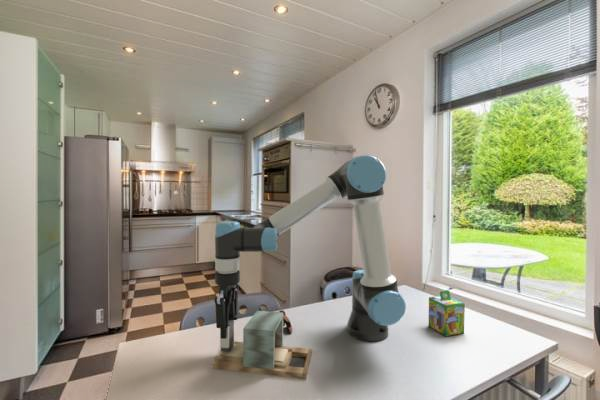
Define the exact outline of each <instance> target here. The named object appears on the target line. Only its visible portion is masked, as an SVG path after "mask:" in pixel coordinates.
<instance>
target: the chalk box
mask: <svg viewBox="0 0 600 400" xmlns="http://www.w3.org/2000/svg"><path fill="white" fill-rule="evenodd" d="M444 294H446V295H444ZM465 305H466V304H465V303H464V302H462V301H460V300H458V299H456V298H453V297H451V293H450V290H440V291H439V295H438V296H430V297H428V325H427V326H428V327H430V328H431V329H433V330H434V331H437V332H438V333H440V334H442V335H443V336H445V337H448V336H453V335H461V334H465V312H466V311H465Z"/></svg>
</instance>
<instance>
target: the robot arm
mask: <svg viewBox="0 0 600 400" xmlns="http://www.w3.org/2000/svg"><path fill="white" fill-rule="evenodd" d="M386 179H387V169H386V167H385V165H384V164H383V162H382V161H381V160H380V159H379V158H377V157H375V156H373V155H368V154H364V155H358V156H355V157H353V158H352V159H350V160H348V161H346V162H344V163H343V164H342V165H341V166H340V167H339V168H338V169H337V170H335V171H334V172H333V173H332V174H330V175H328V176H327V177H326V179H325V181H324V182H322V183H321V184H318V186H316V187H315V188H313V189H311V190H310V191H308V192H306V193H305V194H303V195H302V196H300V197H298V198H297V199H296V200H294V201H292V202H291V203H290V204H288V205H286V206H285V207H282V209H280V210H278V211H277V212H275V213H273V214H272V215H271V216H269V217H267V218H266V219H263V221H261V222H259V223H256V224H255V225H254V226H253V227H241V225H240V222H239V221H236V220H235V221H231V220H227V221H226V220H225V221H219V222H216V224H215V233H214V234H215V235H214V242H215V243H214V244H215V245H214V246H215V247H214V249H215V251H214V252H215V253H214V255H215V258H214V263H215V265H214V270H215V273H214V277H215V278H214V280H215V281H214V282H215V284H216V285H218V287H219V291H218V297H217V296H216V297H215V298H214V300H213V301H214V305H215V319H216V320H215V323H216V324H215V325H216V327H215V328H217V329H219V331H220V332H219V333H220V334H219V335H220V337H219V346H220V349H221V348H229V326H228V320H234V321H237V320H238V317H237V316H238V302H239V299H238V298H239V297H238V296H239V288H240V285H239V283H240V280H241V279H240V275H241V274H240V273H241V271H240V268H241V261H240V260H241V255H240V253H241V252H243V253H245V252H247V253H248V252H249V253H250V252H251V253H252V252H255V253H256V252H258V253H259V252H260V253H261V252H262V253H268V252H275V251H277V249H278V237H279V236H280V235H281V234H283V233H284V232H287V231H288V230H290V229H291V228H292V227H294V226H295V225H298V224H299V223H300V222H301V223H302V221H303V220H305V219H307V218H309V217H310V216H312V215H313V214H315V213H317V212H318V211H319V210H321V209H322V208H324V207H326V206H328V205H329V204H330V203H332V202H334V201H335V200H337V199H338V200H342V199H344V198H345V197H347V201H348V202H350V203H351V205H352V207H353V212H354V217H355V219H354V220H355V224H356V233H357V237H358V245H359V250H360V251H359V252H360V257H361V263H362V264H361V266H362V269H358V270H355V271H353V273H352V279H351V282H352V286H351V289H352V290H351V292H352V294H351V296H352V297H351V298H352V299H351V303H352V304H351V305H352V306H351V308H352V309H351V311H350V315H349V318H348V321H347V322H346V323H347V327H346V328H347V329H346V330H347V333H348V334H349V335H350V336H352V337H353V338H356V339H358V340H362V341H366V342H380V341H382V340H383V341H384V340H386V339H387V338H388V336H389V326H393V325H395V324H397V323H398V322H400V321H401V319H402V318H403V317H404V315H405V312H406V309H407V306H406V305H407V304H406V301H405V299H404V296H402V294H401V293H400V292H399V287H398V280H397V277H396V276H395V275H394V274H393V273H391V267H390V266H391V265H390V258H389V253H388V247H387V238H386V232H385V224H384V221H383V220H384V219H383V212H382V205H381V201H382V199H383V197H384V196H385V192H384V185H385V182H386Z"/></svg>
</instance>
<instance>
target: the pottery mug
mask: <svg viewBox="0 0 600 400" xmlns="http://www.w3.org/2000/svg"><path fill="white" fill-rule="evenodd" d="M278 312H280V313H283V327H285V326H286V329H288V331H289V334H290V335H292V334H293V327H292V324H291V320H290V319H289V317H288V316H287V315H286V312H285V310H284V309H283V310H282V309H280V310H279V311H278Z"/></svg>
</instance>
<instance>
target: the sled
mask: <svg viewBox="0 0 600 400" xmlns="http://www.w3.org/2000/svg"><path fill="white" fill-rule="evenodd" d="M228 326H229V348H221V347H220V353H221V354H220V353H219V354H220V356H226V357H235V358H243V345H242V344H234V341H235V320H228ZM287 353H288V349H282V348H275V358H274V362H281V363H284V361H285V359H286V356H287Z"/></svg>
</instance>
